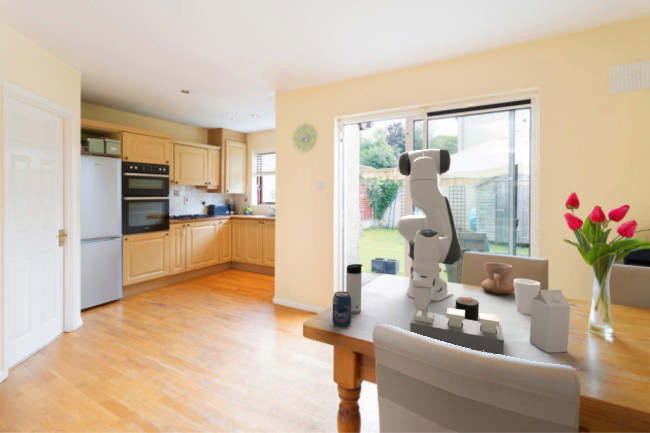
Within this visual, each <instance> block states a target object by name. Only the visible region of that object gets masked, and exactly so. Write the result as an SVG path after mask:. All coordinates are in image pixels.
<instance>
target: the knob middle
mask: <svg viewBox="0 0 650 433" xmlns="http://www.w3.org/2000/svg"><path fill="white" fill-rule="evenodd" d="M445 314H446V315H445V316H446V318H449V326H454V327H459V328H462V321H464V319H465V310H459V309H455V308H453V307H447V309H446V313H445Z"/></svg>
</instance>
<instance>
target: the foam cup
mask: <svg viewBox="0 0 650 433" xmlns="http://www.w3.org/2000/svg"><path fill="white" fill-rule="evenodd" d="M513 286H514V297H515V309H516V312H518V313H519V314H523V315H529V316H531V308H532V298H534V297H535V296H537V295H539V294H540V293H539V292H540V291H541V282H539V281H537V280H534V279H528V278H514V279H513Z"/></svg>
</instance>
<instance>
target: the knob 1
mask: <svg viewBox="0 0 650 433" xmlns="http://www.w3.org/2000/svg"><path fill="white" fill-rule="evenodd" d="M417 311H418V312H417V314H416V320H418V321H423V322H429V323H432V322H433V319H434V314H435V312H431V311H428V314H427V316H423V315H422V310H417Z"/></svg>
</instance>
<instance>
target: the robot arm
mask: <svg viewBox="0 0 650 433" xmlns="http://www.w3.org/2000/svg"><path fill="white" fill-rule="evenodd" d="M452 158H453V157H452V155H451V153H450V151H449V150H448V149H446V148H437V149H436V148H428V149H427V148H426V149H418V150H411V151H404V152H402V153H401V154H399V156H398V159H397V164H396V165H397V168H398V171H399V174H401V175H402V176H406V177H409V196H410V198H411V202H412V205H413V206H414V207H415V208H416V209H418V210H420V211H422V213H424V215H405V216H401V218H399V220H398V222H397V225H396V226H397V231H398V233H399V235H401V236H402V237H403V238H404V240H406V242H407V244H408V246H409V247H408V248H409V249H408V250H409V252H408V257H409V258H411V259H410V260H411V265H410V269H409V270H410V277H409V282H408V284H409V285H408V288H407V296H408V297H410V298H412V299H414V305H415V306H414V307H415V309H416V310H417V311H418V310H419V311H422V315H423V316H427V314H428V312H429V305H430V304H431V301H433V302H440V301H442V300H444V299H447V298H449V297H452V296H453V292H451V291H450V290H448V283H447V282H446V280H444V279H443V278H442V277H441V276H440V273H442V267H440V264H443V265H449V266H450V265H451V266H452V265H454V264H456V263H457V262H458V261H459V260H460V259H461V256H462V249H461V248H462V247H461V244H460V242H459V238H458V235H457V230H456V226H455V222H454V217H453V216H454V215H453V212H452V207H451V204H450V202H449V199H448V197H447V196H445V195H444V194H443V193H442V192H441V189H440V186H439V184H440V183H439V176H442V175H443V174H446V173H447V172H448V171H449V170H450V168H451V166H452Z"/></svg>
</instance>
